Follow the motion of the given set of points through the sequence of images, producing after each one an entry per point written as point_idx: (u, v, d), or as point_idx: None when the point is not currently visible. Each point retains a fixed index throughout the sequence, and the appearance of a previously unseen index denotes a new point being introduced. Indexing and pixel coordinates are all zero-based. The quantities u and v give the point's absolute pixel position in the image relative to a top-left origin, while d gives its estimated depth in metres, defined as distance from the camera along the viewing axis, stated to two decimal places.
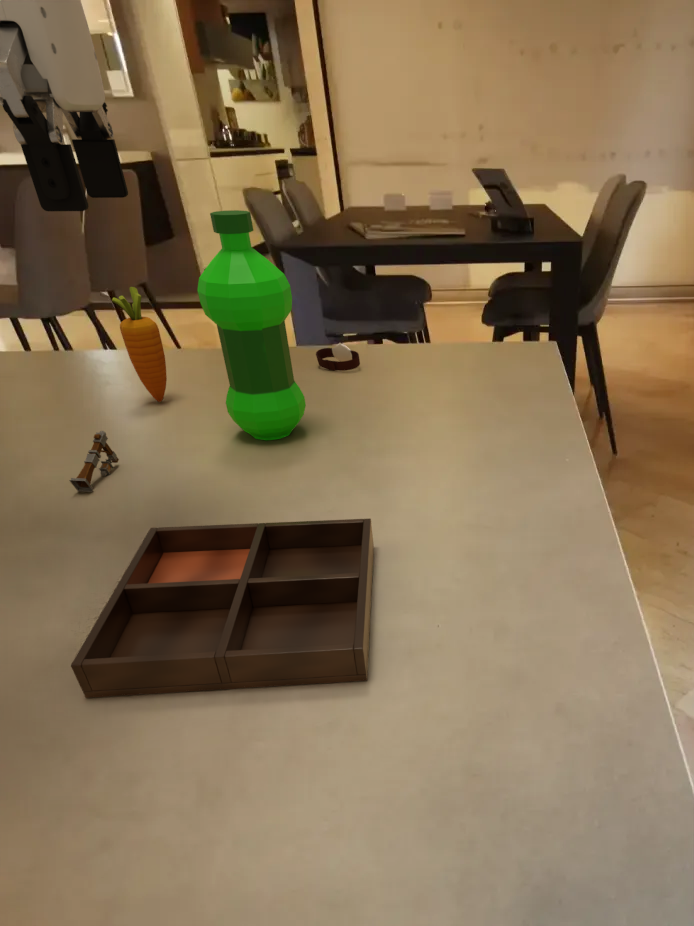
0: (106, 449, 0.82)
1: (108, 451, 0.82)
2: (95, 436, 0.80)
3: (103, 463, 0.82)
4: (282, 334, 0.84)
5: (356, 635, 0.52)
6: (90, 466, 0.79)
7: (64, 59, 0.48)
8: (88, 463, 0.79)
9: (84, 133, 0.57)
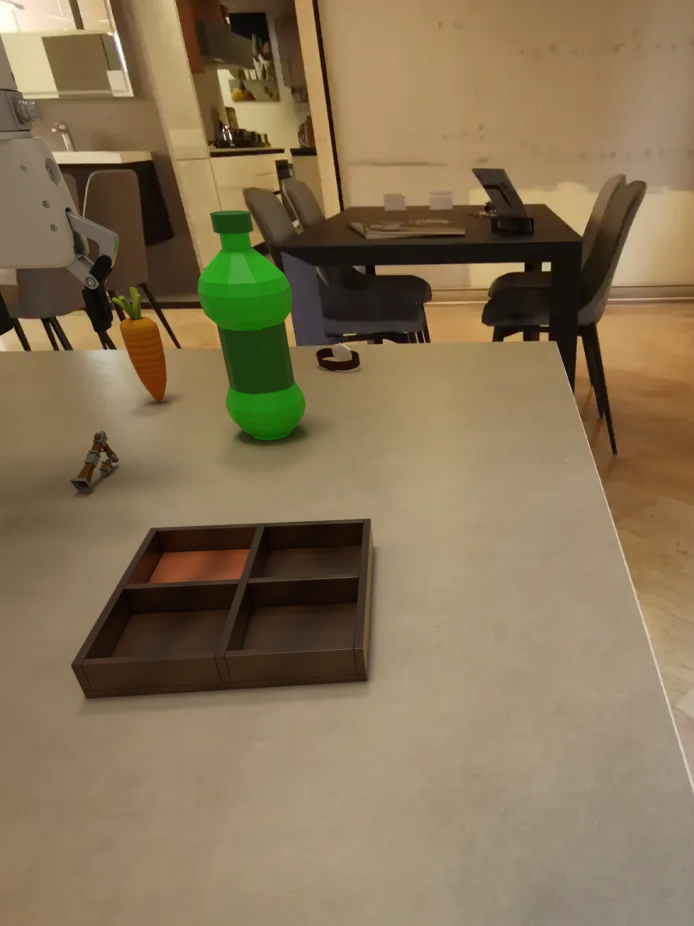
0: (106, 449, 0.82)
1: (108, 451, 0.82)
2: (95, 436, 0.80)
3: (102, 463, 0.82)
4: (282, 334, 0.84)
5: (356, 635, 0.52)
6: (90, 466, 0.79)
7: None
8: (88, 463, 0.79)
9: None
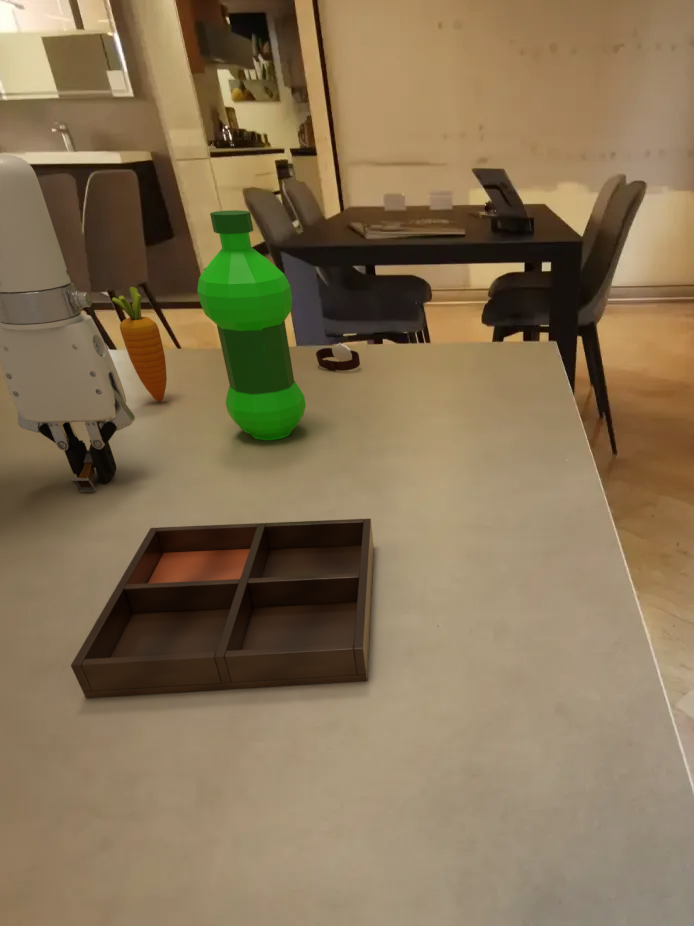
0: None
1: None
2: None
3: None
4: (282, 334, 0.84)
5: (356, 635, 0.52)
6: (90, 466, 0.79)
7: (28, 399, 0.73)
8: (88, 463, 0.79)
9: None
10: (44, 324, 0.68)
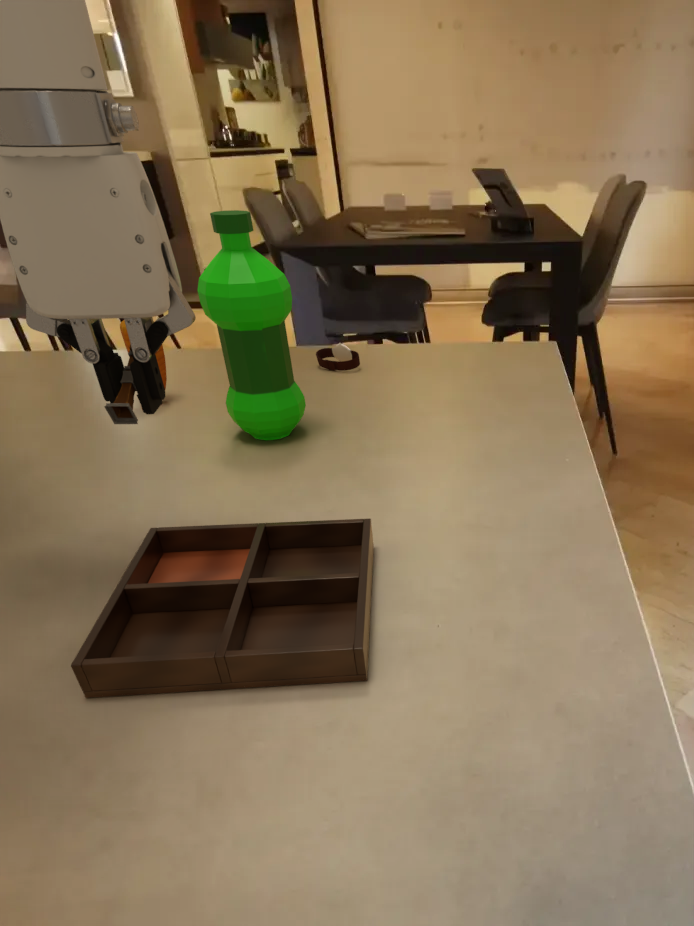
0: None
1: None
2: None
3: None
4: (282, 334, 0.84)
5: (356, 635, 0.52)
6: (130, 388, 0.54)
7: (41, 278, 0.49)
8: (127, 384, 0.54)
9: None
10: (68, 149, 0.44)
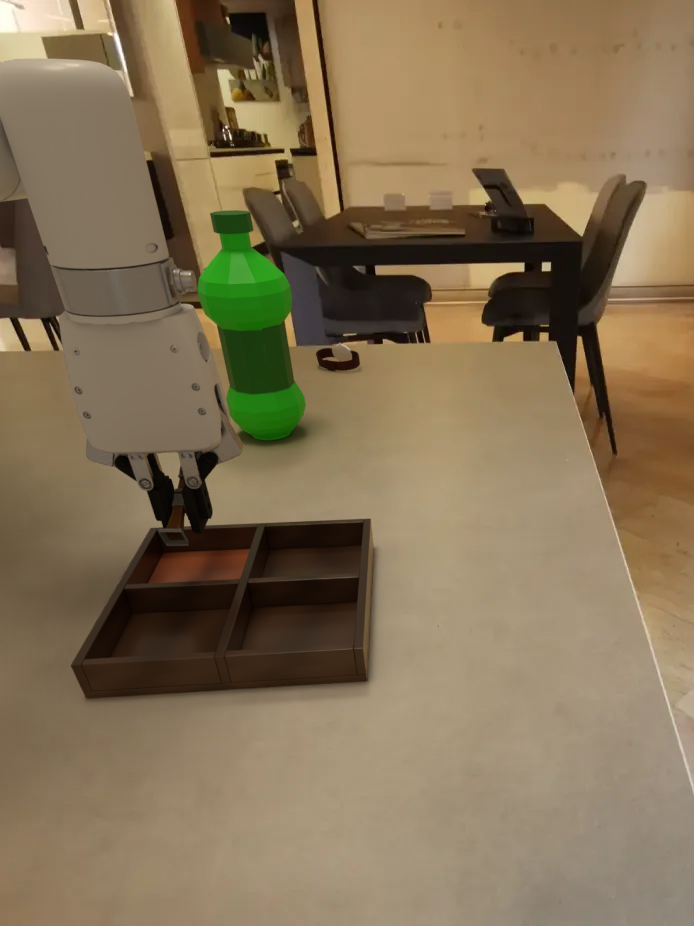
0: None
1: None
2: None
3: None
4: (282, 334, 0.84)
5: (356, 635, 0.52)
6: (181, 511, 0.58)
7: (103, 422, 0.52)
8: (178, 507, 0.58)
9: None
10: (134, 316, 0.47)
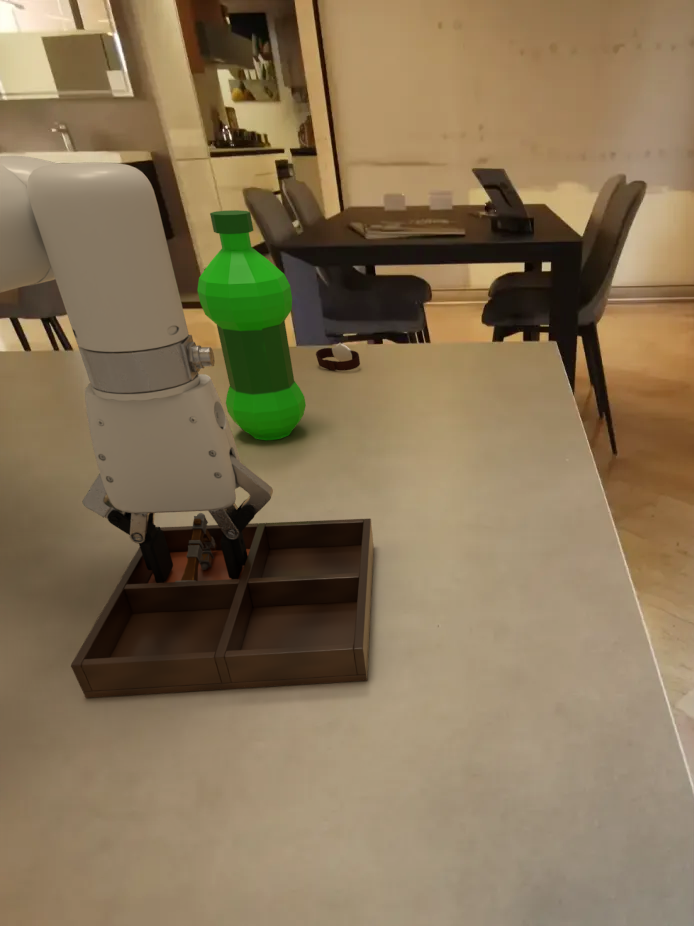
0: (205, 536, 0.64)
1: (207, 538, 0.64)
2: (195, 522, 0.62)
3: None
4: (282, 334, 0.84)
5: (356, 635, 0.52)
6: (195, 562, 0.61)
7: (125, 485, 0.55)
8: (192, 559, 0.61)
9: None
10: (156, 393, 0.50)
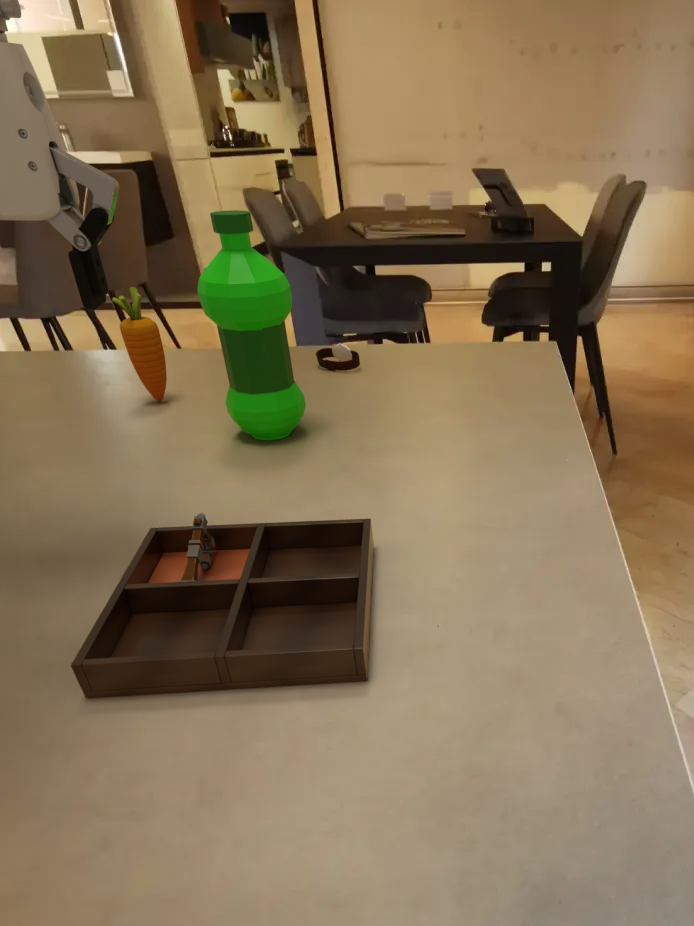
0: (205, 536, 0.64)
1: (207, 538, 0.64)
2: (195, 522, 0.62)
3: None
4: (282, 334, 0.84)
5: (356, 635, 0.52)
6: (195, 562, 0.61)
7: None
8: (192, 559, 0.61)
9: None
10: None
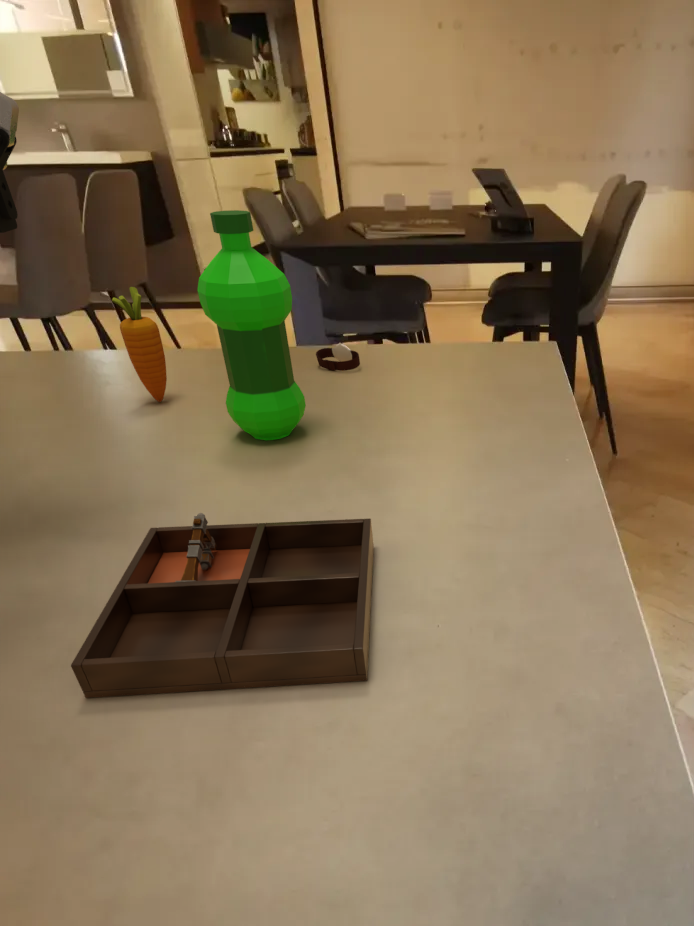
0: (205, 536, 0.64)
1: (207, 538, 0.64)
2: (195, 522, 0.62)
3: None
4: (282, 334, 0.84)
5: (356, 635, 0.52)
6: (195, 562, 0.61)
7: None
8: (192, 559, 0.61)
9: None
10: None
